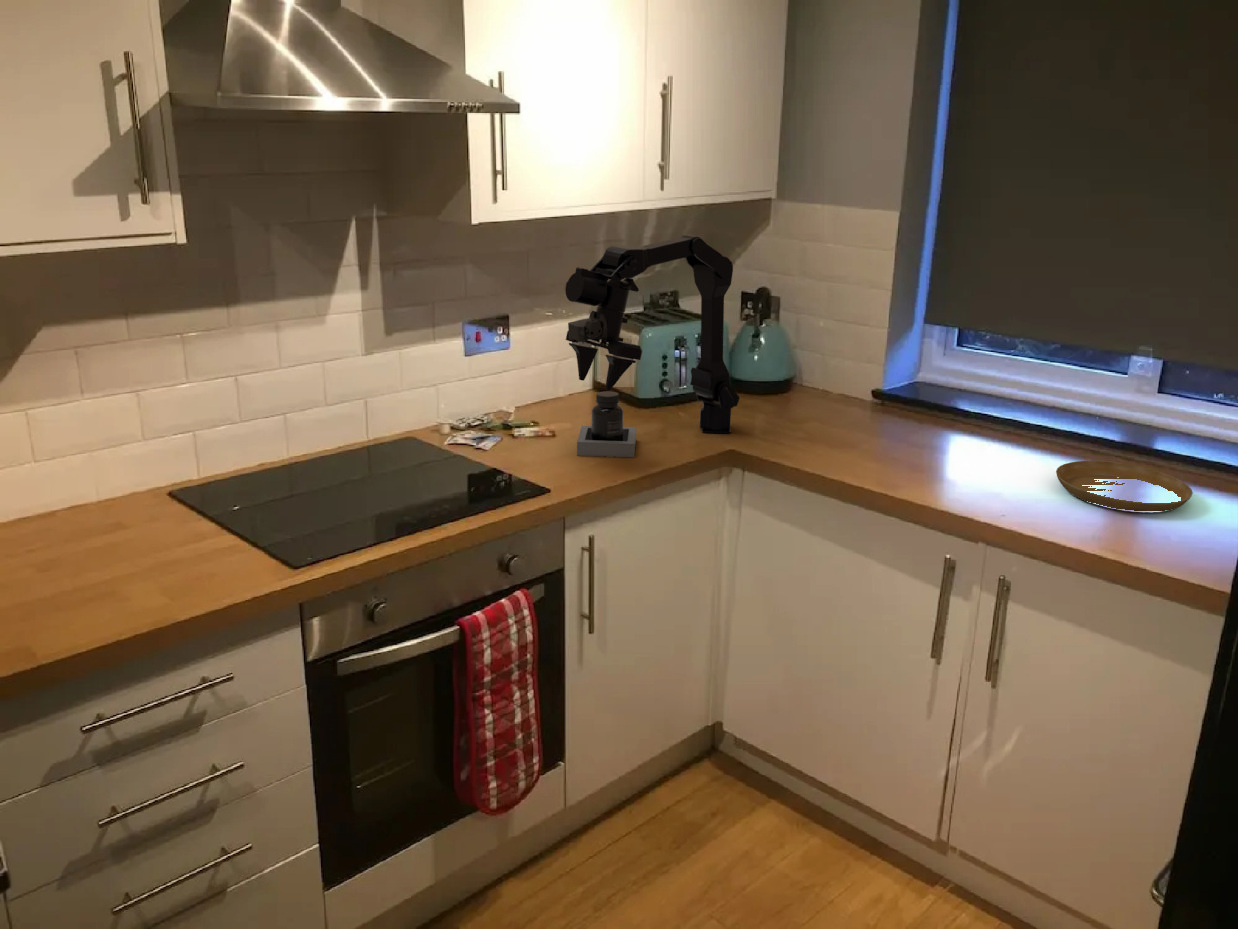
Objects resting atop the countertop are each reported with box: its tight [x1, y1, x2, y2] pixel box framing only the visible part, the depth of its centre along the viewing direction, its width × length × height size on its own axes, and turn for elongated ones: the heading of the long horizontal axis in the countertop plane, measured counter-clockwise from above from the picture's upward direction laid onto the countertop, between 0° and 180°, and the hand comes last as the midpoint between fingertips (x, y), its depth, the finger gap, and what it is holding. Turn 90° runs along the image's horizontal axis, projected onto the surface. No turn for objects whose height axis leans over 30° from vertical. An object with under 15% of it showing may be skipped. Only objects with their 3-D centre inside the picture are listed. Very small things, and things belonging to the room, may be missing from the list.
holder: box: [576, 425, 637, 458], centre depth 225 cm, size 12×12×3 cm
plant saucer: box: [1055, 460, 1194, 511], centre depth 203 cm, size 24×24×3 cm
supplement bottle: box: [591, 390, 624, 441], centre depth 223 cm, size 7×7×12 cm
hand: (594, 384), depth 215 cm, fingers open, 9 cm apart
